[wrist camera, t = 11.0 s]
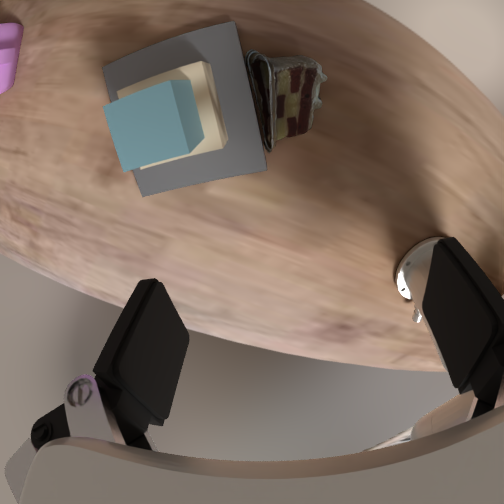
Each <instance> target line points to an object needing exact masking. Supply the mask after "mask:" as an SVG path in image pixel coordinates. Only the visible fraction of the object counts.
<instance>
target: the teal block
mask: <svg viewBox="0 0 504 504" xmlns="http://www.w3.org/2000/svg"><path fill="white" fill-rule="evenodd" d="M103 109H104V112H105V116H106V119H107V123H108V126H109V129H110V132H111V136H112V139H113V142H114V145H115V148H116V151H117V154H118V157H119V160H120V163H121V166H122V169H123V172H126V171H129V170H133V169H136V168H139V167H142V166H146V165H149V164H152V163H156V162H159V161H163V160H167V159H170V158H174V157H178V156H182V155H186V154H190V153H191V152H192V151H193V150H194V149H195V148H196V146H197V145H198V144H199V143H200V142H201V141H202V140H203V139H204V138H205V136H204V132H203V129H202V125H201V121H200V117H199V113H198V109H197V105H196V101H195V97H194V93H193V89H192V85H191V81H190V80H169V81H166V82H163V83H160V84H157V85H154V86H151V87H149V88H146V89H143V90H141V91H138V92H136V93H133V94H131V95H128V96H126V97H123V98H121V99H119V100H116V101H114V102H112V103H110V104H107V105H105V106H103Z"/></svg>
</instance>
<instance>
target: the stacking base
mask: <svg viewBox="0 0 504 504" xmlns="http://www.w3.org/2000/svg"><path fill="white" fill-rule="evenodd" d="M102 69H103V73H104V77H105V81H106V85H107V89H108V92H109V96H110V100H111V103H112V102H114V101H116V100H119V99H121V98H123V97H126V96H128V95H131V94H133V93H136V92H138V91H141V90H143V89H146V88H149V87H151V86H154V85H157V84H160V83H163V82H166V81H169V80H190V81H191V85H192V89H193V93H194V97H195V101H196V105H197V109H198V113H199V117H200V121H201V125H202V129H203V132H204V136H205V138H204V139H203V140H202V141H201V142H200V143H199V144H198V145H197V146H196V148H195V149H194V150H193V151H192V152H191V153H190V154H186V155H182V156H178V157H174V158H170V159H167V160H163V161H159V162H156V163H152V164H149V165H146V166H142V167H139V168H136V169H133V172H134V175H135V178H136V181H137V184H138V186H139V189H140V192H141V194H142V197H145V196H149V195H153V194H157V193H161V192H165V191H169V190H173V189H177V188H182V187H186V186H190V185H195V184H199V183H204V182H209V181H214V180H219V179H223V178H229V177H234V176H239V175H245V174H250V173H256V172H262V171H267V164H266V159H265V154H264V149H263V144H262V139H261V134H260V129H259V125H258V120H257V115H256V110H255V106H254V101H253V96H252V92H251V87H250V83H249V78H248V74H247V70H246V65H245V61H244V57H243V52H242V48H241V44H240V40H239V36H238V32H237V28H236V24H235V21H231V22H226V23H222V24H218V25H214V26H210V27H206V28H202V29H199V30H195V31H192V32H188V33H185V34H182V35H179V36H176V37H173V38H170V39H167V40H164V41H161V42H159V43H156V44H153V45H151V46H148V47H146V48H143V49H141V50H138V51H136V52H134V53H131V54H129V55H127V56H125V57H122V58H120V59H118V60H116V61H114V62H112V63H110V64H108V65H106V66H104V67H102Z"/></svg>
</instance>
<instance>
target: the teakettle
mask: <svg viewBox="0 0 504 504" xmlns="http://www.w3.org/2000/svg"><path fill="white" fill-rule="evenodd" d="M23 29H24V27H23V26H22V25H20V24H17V23H3V24H0V94H1V93H3V92H5V91H7V90H8V89H10V88H11V87H12V86H13V84H14V80H15V74H16V68H17V62H18V57H19V51H20V46H21V40H22V35H23Z"/></svg>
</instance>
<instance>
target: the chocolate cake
mask: <svg viewBox="0 0 504 504" xmlns="http://www.w3.org/2000/svg"><path fill="white" fill-rule="evenodd" d="M246 53H247V54H246V55H245V61H246V62H245V64H246V66H247V67H248V70H249V74H250V77H251V80H252V85H253V89H254V91H255V94H256V95H255V96H256V102H257V105H258V107H259V110H260V118H261V122H262V129H263V132H264V137H265V140H264V145H265V148H266V150H267V152H269V154H270V152H271V150H272V149H273V148H274V147H275V146H276V145H275V143H276V140H280V139H282V138H284V137H292V136H296V135H298V134H303V133H305V132H307V131H308V130H309V129H311V125H312V121H313V111H314V109H318V108H321V106H322V101H321V100H320V98H319V97H318V94H319V89H320V83H322V82H324V81H326V80H327V76H326V75H324V74H323V73H322V67H321V65H320V64H318V63H317V62H316V61H315V60H313V59H311V58H308V57H305V56H303V55H297V56H292V57H277V58H268V57H267V56H265V55H264V54H260V53H259V52H257V51H256V50H252V49H250V51H248V52H246Z"/></svg>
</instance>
